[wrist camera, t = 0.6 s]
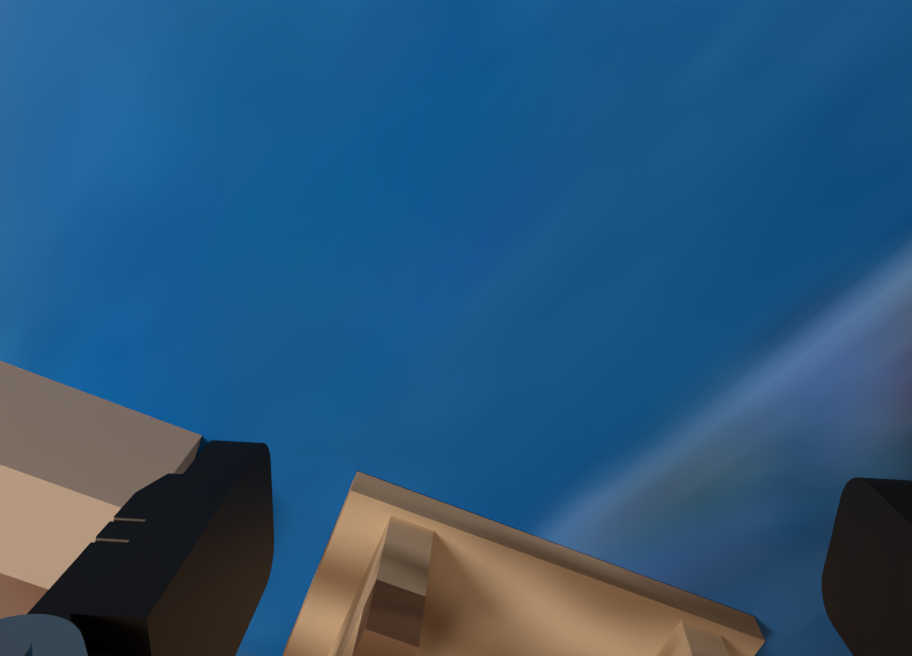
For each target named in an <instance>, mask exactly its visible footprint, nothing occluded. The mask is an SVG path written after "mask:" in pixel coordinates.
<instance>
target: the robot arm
mask: <svg viewBox="0 0 912 656" xmlns="http://www.w3.org/2000/svg"><path fill="white" fill-rule="evenodd" d="M273 551H274V527H273V504H272V481H271V460H270V452H269V449H268V446H267V445H266V444H265V443H253V442H235V441H217V440H212V441H210V442H209V443H208V444H207V445H206V446H205V447H204V448H203V450H202V451H201V452H200V453H199V455H198V456H197V457H196V458H195V460H194V461H193V462H192V463H191V464H190V466H189V467H188V468H187V469H186V471H185V472H184V473H183V474H172V473H168V474H166V475H164V476H163V477H161V478H159V479H157V480H156V481H154V482H152V483H151V484H149V485H147V486H145V487H144V488H142V489H140V490H139V491H137V492H135V493H134V494H133V495H132V497H131V498H130V499H129V500H128V501H127V502H126V503H125V504H124V506H123V507H122V508H121V509H120V510H119V511H118V512H117V513H116V515H115V516H114V520H113V521H109V522H108V524H107V525H106V526H105V527H104V528H103V529H102V530H101V531H100V533H99V534H98V535H97V536H96V540H95V542H91V543H90V544H89V545H88V546H87V547H86V548H85V549H84V551H83V552H82V553H81V554H80V555H79V556H78V557H77V558H76V560H75V561H74V562H73V563H72V564H71V565H70V566H69V567H68V569H67V570H66V571H65V572H64V573H63V574H62V575H61V576H60V578H59V579H58V580H57V581H56V582H55V583H54V584H53V585H52V587H51V588H50V589H49V590H48V591H47V592H46V593H45V595H44V596H43V597H42V598H41V599H40V600H39V601H38V602H37V603H36V604H35V606H34V607H33V608H32V609H31V610H30V611H29V612H28V613H27V614H26V615H17V616H11V617H6V618H2V619H0V656H235V655H236V652H237V650H238V648H239V646H240V644H241V641H242V639H243V637H244V635H245V632H246V630H247V628H248V626H249V623H250V621H251V619H252V617H253V614H254V612H255V610H256V608H257V606H258V603H259V601H260V599H261V597H262V594H263V592H264V590H265V588H266V585H267V582H268V579H269V575H270V571H271V566H272V560H273ZM822 596H823V601H824V605H825V609H826V612H827V615H828V617H829V619H830V621H831V623H832V624H833V626H834V627H835V629H836V630H837V632H838V633H839V635H840V636H841V638H842V639H843V641H844V642H845V644H846V645H847V647H848V648H849V650H850V651H851V653H852V654H853V656H912V481H910V480H893V479H875V478H853V479H851V480H850V481H849V482H847V484H846V485H845V487H844V489H843V491H842V495H841V498H840V503H839V507H838V511H837V515H836V519H835V523H834V528H833V532H832V536H831V540H830V544H829V549H828V553H827V557H826V561H825V565H824V569H823V575H822Z"/></svg>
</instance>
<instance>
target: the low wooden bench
mask: <svg viewBox="0 0 912 656" xmlns="http://www.w3.org/2000/svg"><path fill="white" fill-rule="evenodd" d="M764 642H765V639H764V637H763V635H762V633H761V630H760V628H759V626H758V624H757V622H756V620H755V617H754V616H752V615H749V614H746V613H743V612H741V611H738V610H735V609H732V608H730V607H727V606H724V605H722V604H719V603H716V602H713V601H711V600H708V599H705V598H702V597H700V596H697V595H694V594H691V593H689V592H686V591H683V590H681V589H678V588H675V587H672V586H670V585H667V584H664V583H661V582H659V581H656V580H653V579H651V578H648V577H645V576H642V575H640V574H637V573H634V572H631V571H629V570H626V569H623V568H621V567H618V566H615V565H612V564H610V563H607V562H604V561H601V560H599V559H596V558H593V557H590V556H588V555H585V554H582V553H580V552H577V551H574V550H571V549H569V548H566V547H563V546H560V545H558V544H555V543H552V542H550V541H547V540H544V539H541V538H539V537H536V536H533V535H530V534H528V533H525V532H522V531H520V530H517V529H514V528H511V527H509V526H506V525H503V524H500V523H498V522H495V521H492V520H489V519H487V518H484V517H481V516H479V515H476V514H473V513H470V512H468V511H465V510H462V509H459V508H457V507H454V506H451V505H449V504H446V503H443V502H440V501H438V500H435V499H432V498H429V497H427V496H424V495H421V494H418V493H416V492H413V491H410V490H408V489H405V488H402V487H399V486H397V485H394V484H391V483H388V482H386V481H383V480H380V479H378V478H375V477H372V476H369V475H367V474H364V473H361V472H358V471H357V473H356V475H355V478H354V480H353V483H352V485H351V487H350V490H349V492H348V495H347V497H346V500H345V502H344V505H343V507H342V509H341V512H340V514H339V517H338V519H337V522H336V524H335V527H334V529H333V531H332V534H331V536H330V539H329V541H328V544H327V546H326V549H325V551H324V553H323V556H322V558H321V561H320V563H319V566H318V568H317V571H316V573H315V575H314V578H313V580H312V583H311V585H310V588H309V590H308V593H307V595H306V597H305V600H304V602H303V605H302V607H301V610H300V612H299V615H298V617H297V619H296V622H295V624H294V627H293V629H292V632H291V634H290V637H289V639H288V641H287V644H286V647H285V650H284V653H283V655H282V656H754V655H755V654H756V653H757V651H758V650H759V649H760V647H761V646H762V645H763V644H764Z"/></svg>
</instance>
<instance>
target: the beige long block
mask: <svg viewBox="0 0 912 656" xmlns="http://www.w3.org/2000/svg"><path fill="white" fill-rule="evenodd" d="M201 437H202V436H201V435H199V434H196V433H193V432H190V431H188V430H185V429H182V428H180V427H177V426H174V425H172V424H169V423H166V422H164V421H161V420H158V419H155V418H153V417H150V416H147V415H145V414H142V413H139V412H137V411H134V410H131V409H129V408H126V407H123V406H120V405H118V404H115V403H112V402H110V401H107V400H104V399H102V398H99V397H96V396H94V395H91V394H88V393H85V392H83V391H80V390H77V389H75V388H72V387H69V386H67V385H64V384H61V383H59V382H56V381H53V380H50V379H48V378H45V377H42V376H40V375H37V374H34V373H32V372H29V371H26V370H24V369H21V368H18V367H15V366H13V365H10V364H7V363H5V362H2V361H0V573H2V574H5V575H8V576H11V577H14V578H17V579H20V580H23V581H26V582H29V583H31V584H34V585H37V586H40V587H43V588H46V589H50V588H51V587H52V585H53V584H54V583H55V582H56V581H57V580H58V579H59V578H60V576H61V575H62V574H63V573H64V572H65V571H66V570H67V569H68V567H69V566H70V565H71V564H72V563H73V562H74V561H75V560H76V558H77V557H78V556H79V555H80V554H81V553H82V552H83V551H84V549H85V548H86V547H87V546H88V545H89V544H90V543H91V542H95V540H96V536H97V535H98V534H99V533H100V531H101V530H102V529H103V528H104V527H105V526H106V525H107V524H108V522H109V521H113V520H114V516H115V515H116V513H117V512H118V511H119V510H120V509H121V508H122V507H123V506H124V504H125V503H126V502H127V501H128V500H129V499H130V498H131V497H132V495H133V494H134V493H135V492H137V491H139V490H140V489H142V488H144V487H145V486H147V485H149V484H151V483H152V482H154V481H156V480H157V479H159V478H161V477H163V476H164V475H166V474H168V473H172V474H183V473H184V472H185V471H186V469H187V468H188V467H189V466H190V464H191V463H192V462H193V461H194V459H195V456H196V453H197V450H198V447H199V443H200V440H201Z"/></svg>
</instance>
